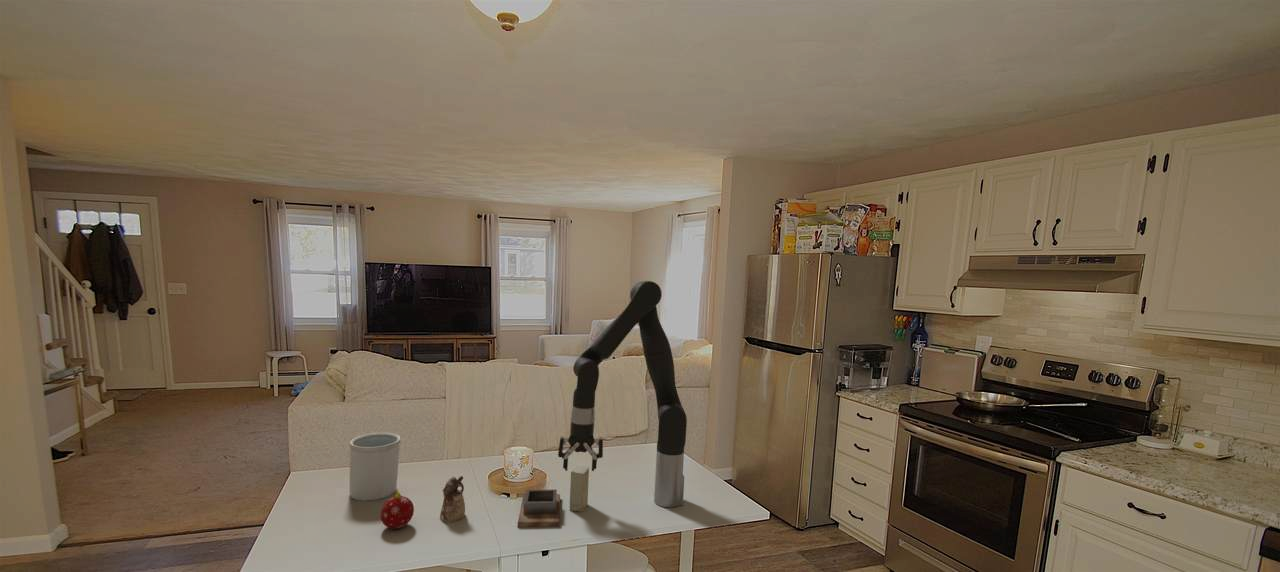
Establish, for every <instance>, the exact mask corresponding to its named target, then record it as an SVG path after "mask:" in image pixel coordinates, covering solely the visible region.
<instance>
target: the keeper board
mask: <svg viewBox="0 0 1280 572" xmlns="http://www.w3.org/2000/svg"><path fill="white" fill-rule="evenodd" d="M525 495H526V493H525V494H524V493H523V495H522V500H521V505H520V509H519V515H518V520H517V528H543V527H544V528H545V527H549V528H550V527H551V528H552V527H560V513H561V511H560V509H561V508H560V507H561V494H560V493H557V495H556V514H529V515H523V512H524V500H525Z"/></svg>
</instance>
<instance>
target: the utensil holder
mask: <svg viewBox="0 0 1280 572" xmlns="http://www.w3.org/2000/svg"><path fill="white" fill-rule="evenodd" d="M401 440H402V439H401V436H400V435H399V434H396V433H393V432H373V433H366V434H362V435H359V436H355V437H354V438H352V439H351V440H350V441H349V448H350V449H349V450H350V453H349V497H350V498H351V499H353V500H356V501H362V502H363V501H364V502H365V501H367V502H368V501H376V500H381V499H384V498H387V497H389V496H391V495H392V494H394V493H395V492H396V491H397V486H398V485H397V484H398V483H397V482H398V473H399V456H400V455H399V454H400V444H401Z"/></svg>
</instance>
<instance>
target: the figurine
mask: <svg viewBox="0 0 1280 572" xmlns="http://www.w3.org/2000/svg"><path fill="white" fill-rule="evenodd" d="M463 479H464V476H463V475H461V476H459V478H456V477H455V476H451V477H450V478H449V479H447V481H446V483H445V487H444V488H443V489H442V493H443V502H442V505H441V509H440V515H439V520H440V521H442V522H444V521H445V522H444V523H452V522H453V521H454V522H457V521H459V520H462V519H463V518H464V517H465V513H466V503H465V498H464V494H463V492H464V490H465V488H464V484H463V482H462V481H463ZM458 488H461V489H460V490H459V489H458Z"/></svg>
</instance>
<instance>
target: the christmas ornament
mask: <svg viewBox="0 0 1280 572" xmlns="http://www.w3.org/2000/svg"><path fill="white" fill-rule="evenodd" d="M414 507H415V506H414V503H413V501H412V500H411V499H410V498H408V497H406V496H404V495H403V496H402V494H401V493H400V491H398V492H396V494H395V496H394V497H391V498H390V499H388V500H387V501H385V503H384V505H383V506H382V507H381V511H380V520H381V522H382V524H383V525H384V526H385V527H387V528H388V529H393V530H396V529H400V528H403V527H405V526H407V525H408V523H409V522H410V521H411V520H412V519H413V516H414V512H415V508H414Z"/></svg>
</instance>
